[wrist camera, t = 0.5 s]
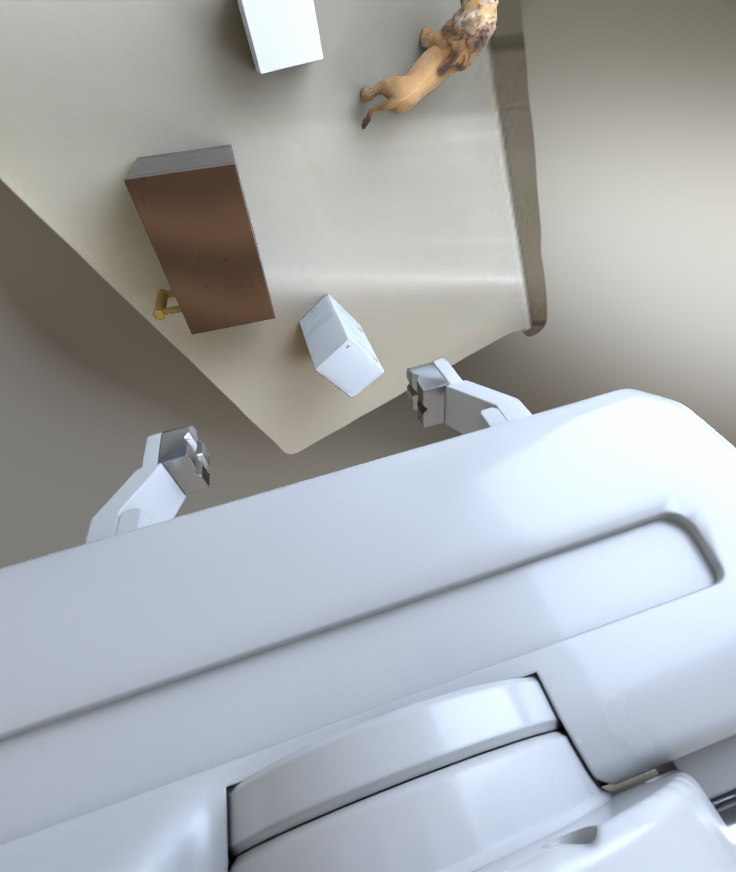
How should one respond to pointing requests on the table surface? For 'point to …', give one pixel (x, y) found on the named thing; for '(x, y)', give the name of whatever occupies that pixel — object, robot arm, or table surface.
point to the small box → (339, 347)
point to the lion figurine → (438, 57)
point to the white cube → (281, 32)
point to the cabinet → (202, 236)
